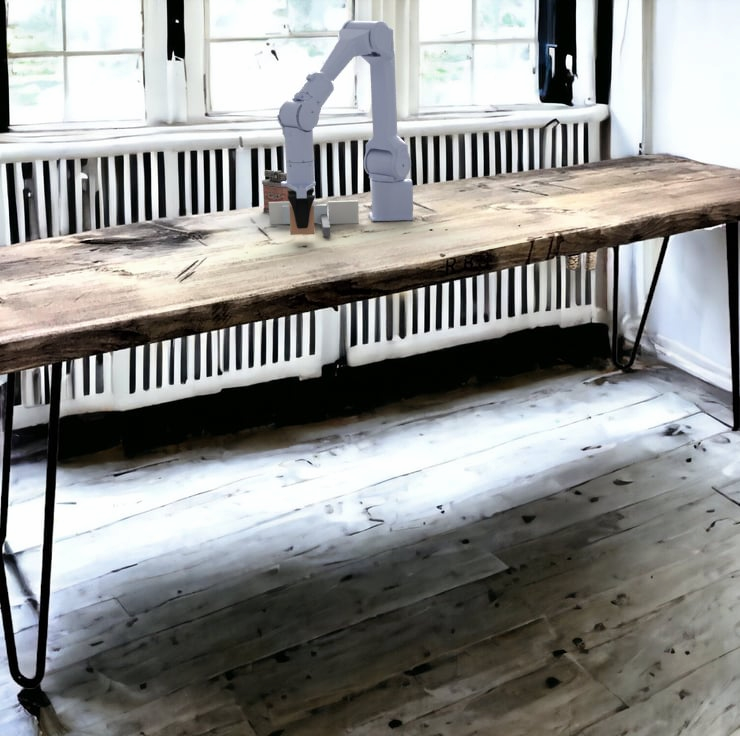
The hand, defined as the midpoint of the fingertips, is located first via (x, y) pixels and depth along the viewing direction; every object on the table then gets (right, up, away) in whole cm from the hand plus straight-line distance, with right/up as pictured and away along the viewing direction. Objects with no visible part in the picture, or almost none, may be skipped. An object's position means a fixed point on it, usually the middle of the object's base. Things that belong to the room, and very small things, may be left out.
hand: (302, 225), depth 217 cm
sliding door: (0, 0, +9) cm, 9 cm away
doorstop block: (0, -1, +1) cm, 1 cm away
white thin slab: (+2, +3, +16) cm, 16 cm away
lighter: (-7, +6, +26) cm, 28 cm away
